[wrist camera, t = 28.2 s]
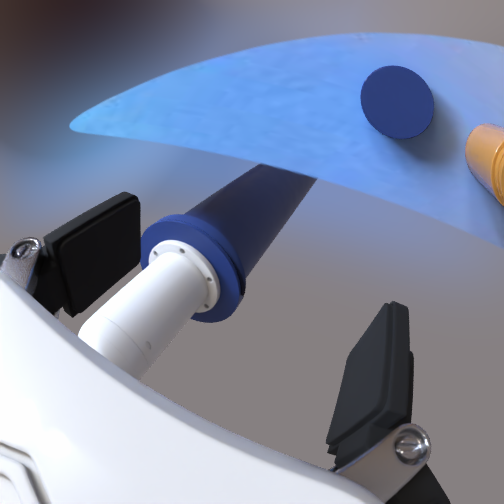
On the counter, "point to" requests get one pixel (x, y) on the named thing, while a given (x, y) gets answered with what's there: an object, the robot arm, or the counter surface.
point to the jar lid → (397, 102)
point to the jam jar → (487, 158)
